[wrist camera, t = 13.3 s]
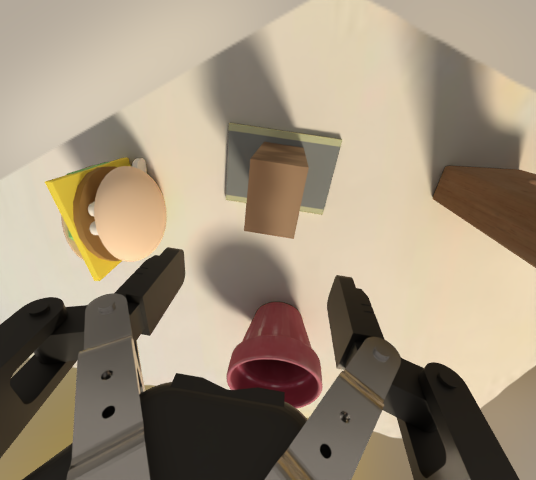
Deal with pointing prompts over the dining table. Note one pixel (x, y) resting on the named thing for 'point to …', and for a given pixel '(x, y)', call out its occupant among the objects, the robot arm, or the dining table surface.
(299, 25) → the dining table surface
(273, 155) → the walnut block
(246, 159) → the mat
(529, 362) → the dining table surface
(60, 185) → the hamburger
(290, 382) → the plant pot
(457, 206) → the wooden block
